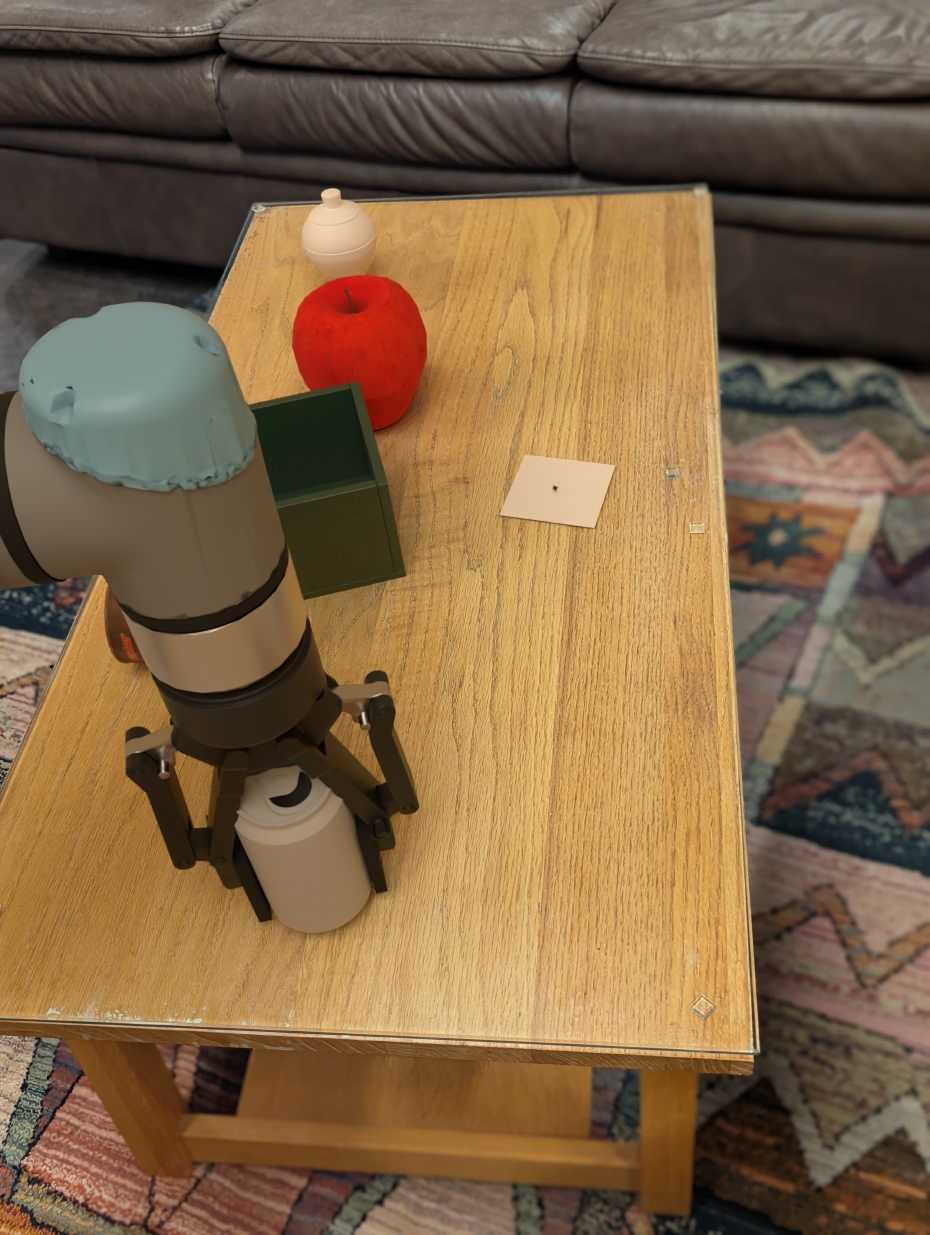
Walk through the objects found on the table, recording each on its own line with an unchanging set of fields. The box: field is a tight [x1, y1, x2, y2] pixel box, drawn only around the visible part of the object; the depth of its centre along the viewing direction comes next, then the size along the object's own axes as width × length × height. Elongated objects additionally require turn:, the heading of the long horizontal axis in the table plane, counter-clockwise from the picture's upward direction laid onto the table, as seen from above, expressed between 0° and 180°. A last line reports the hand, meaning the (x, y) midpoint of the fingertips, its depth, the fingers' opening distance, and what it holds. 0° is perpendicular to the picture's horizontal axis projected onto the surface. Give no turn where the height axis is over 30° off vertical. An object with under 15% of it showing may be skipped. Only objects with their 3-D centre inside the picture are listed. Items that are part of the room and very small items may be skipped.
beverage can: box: [234, 765, 373, 934], centre depth 62 cm, size 6×6×12 cm
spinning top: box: [300, 188, 378, 282], centre depth 110 cm, size 8×8×12 cm
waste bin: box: [248, 381, 407, 601], centre depth 86 cm, size 14×14×10 cm
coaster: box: [498, 454, 616, 529], centre depth 90 cm, size 8×8×1 cm
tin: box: [103, 584, 146, 665], centre depth 82 cm, size 15×3×8 cm, turn 174°
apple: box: [291, 274, 428, 431], centre depth 95 cm, size 12×12×13 cm
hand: (321, 887), depth 66 cm, fingers closed on beverage can, 6 cm apart
